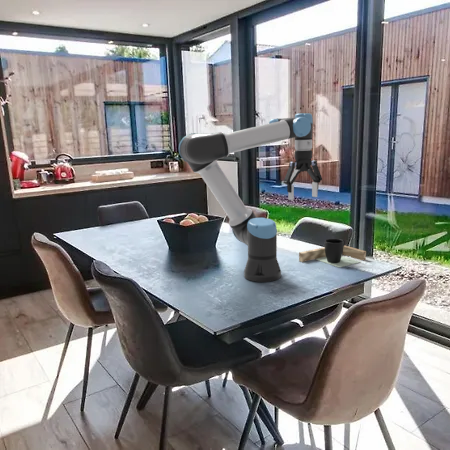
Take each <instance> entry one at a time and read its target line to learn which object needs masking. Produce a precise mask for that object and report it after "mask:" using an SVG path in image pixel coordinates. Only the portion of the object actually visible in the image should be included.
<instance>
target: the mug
mask: <svg viewBox="0 0 450 450" xmlns="http://www.w3.org/2000/svg"><path fill="white" fill-rule="evenodd" d="M345 243H346V240H345V239H339V238H328V239H325V240H324V247H325V254H326V258H327V261H328V262H329V263H339V262H340V260H341V257H342V256H343V254H342V253H343V248H344V245H345Z"/></svg>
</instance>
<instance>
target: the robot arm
mask: <svg viewBox="0 0 450 450" xmlns="http://www.w3.org/2000/svg"><path fill="white" fill-rule="evenodd" d="M313 125H314V120H313V115H312V113H309V112H308V113H307V112H305V113H304V112H303V113H301V112H300V113H296V114H295V115H294V117H287V118H272V119H270V120H269V122H268V123H266V124H262V125H258V126H253V127H248V128H244V129H241V130H240V129H239V130H235V131H231V132H227V133H225V132H223V131H219V132H215V133H214V132H213V133H196V132H195V133H189V134H187V135H185V136H183V137H182V139H181V140H180V141H179V144H178V153H179V156H180V157H181V159H182V160H183V161H184V162H186V163H187V164H188V166H189V168H190V169H191V170H192V171H193V173H194V174H198V175H199V176H200V177H201V178H202V180H203V182H204V183H205V184H206V186H207V187H208V189H209V190H210V192H211V193H212V195H213V196H214V198H215V199H216V201H217V202H218V204H219V205H220V207H221V208H222V209H223V211H224V213H225V214H226V216H227V218H228V219H229V220H228V225H229V227H230V229H231V231H232V234H233V236H234V238H235V239H237V240H238V241H239V242H240V243H243V244H245V245H246V246H247V261H246V264H245V267H244V271H243V277H244V278H245V279H246V280H248V281H250V282H257V283H267V282H274V281H277V280H279V279H280V278H281V277H282V271H281V268H280V263H279V262H278V261H279V260H278V257H277V251H278V250H277V248H278V246H277V244H278V243H277V239H278V238H277V235H278V229H277V224H276V222H275V221H274V220H273V219H271V218H266V217H257V215H256V214H255V213H254V211H253V210H252V209H251V208H249V207H246V206H245V204H244V202H243V200H242V199H241V197H240V196H239V194H238V192H237V191H236V190H235V188H234V186H233V185H232V184H231V182H230V180H229V178H227V176H226V174H225V173H224V171H223V169H222V168H221V167H220V165H219V163H218V160H220V159H225V158H228V157H229V155H230V154H233V153H238V152H241V151H245V150H249V149H253V148H257V147H261V146H265V145H271V144H273V143H277V142H281V141H285V140H290V139H294V160H295V161H289V165H288V168H287V171H286V174H285V176H284V179H283V182H282V183H283V184H285V185H286V186H287V187H286V188H287V189H286V191H287V193H288V198H287V199H288V200H289V201H294V199H295V197H294V196H295V195H294V193H295V192H294V191H295V187H294V186H295V185H293V184H294V182H295V181H296V179H297V177H298V176H299V174H300V173H303V172H307V174H308V175H309V176H310V178H311V180H312V182H311V196H312V197H313V198H318V190H319V183H321V182H322V181H323V177H322V174H321V172H320V169H319V166H318V161H317V160H312V159H313V150H312V149H313Z"/></svg>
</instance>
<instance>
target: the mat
mask: <svg viewBox="0 0 450 450" xmlns="http://www.w3.org/2000/svg"><path fill="white" fill-rule="evenodd" d="M314 260H315V261H318V262H321V263H324V264H327V265H330V266H333V267H336V268H343V267H348V266H351V265H356V264H360V263H361V261H359V260H357V259H356V260H355V259H354V258H353V259H352V258H351V257H346V256H344V255H342V257H341V260H340V262H339V263H329V262H328V261H327V258H326V257H322V258H317V259H314Z"/></svg>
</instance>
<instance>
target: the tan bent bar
mask: <svg viewBox="0 0 450 450" xmlns="http://www.w3.org/2000/svg"><path fill="white" fill-rule="evenodd" d="M342 256H345V257H346V256H347V257H349V256H351V257H350V258H353V259H356V260H358V261H359V260H360V261H362V260H363V261H366V259H367V251H366V250H363V249H359V248H355V247H352V246H348V245H345V244H344V248H343V253H342ZM322 257H326V254H325V246H324V247H321V248H320V247H319V248H315V249H314V248H313V249H309V250H306V251H305V250H304V251H300V252H298V261H299V262H301V263H304V262H308V261H312V260H315V259H317V258H322Z"/></svg>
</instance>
